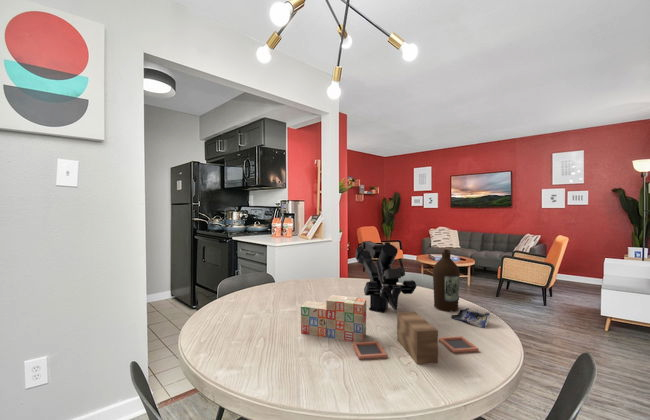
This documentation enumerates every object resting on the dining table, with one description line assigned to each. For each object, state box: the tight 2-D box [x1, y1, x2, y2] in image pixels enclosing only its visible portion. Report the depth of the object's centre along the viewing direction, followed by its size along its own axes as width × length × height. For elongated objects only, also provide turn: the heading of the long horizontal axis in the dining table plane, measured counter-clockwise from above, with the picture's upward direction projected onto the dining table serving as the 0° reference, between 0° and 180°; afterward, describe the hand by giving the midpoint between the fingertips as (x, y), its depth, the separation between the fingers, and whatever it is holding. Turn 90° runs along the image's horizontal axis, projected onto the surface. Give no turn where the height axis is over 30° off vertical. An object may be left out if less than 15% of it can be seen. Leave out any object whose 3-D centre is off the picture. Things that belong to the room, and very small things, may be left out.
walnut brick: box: [396, 311, 439, 365], centre depth 83 cm, size 14×6×9 cm, turn 7°
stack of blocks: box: [300, 294, 367, 343], centre depth 94 cm, size 21×6×12 cm, turn 72°
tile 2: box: [438, 335, 480, 355], centre depth 86 cm, size 8×8×1 cm
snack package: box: [450, 307, 491, 329], centre depth 105 cm, size 12×6×12 cm
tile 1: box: [352, 340, 388, 361], centre depth 82 cm, size 8×8×1 cm
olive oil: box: [432, 248, 461, 312], centre depth 120 cm, size 11×11×25 cm
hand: (395, 309), depth 99 cm, fingers closed
